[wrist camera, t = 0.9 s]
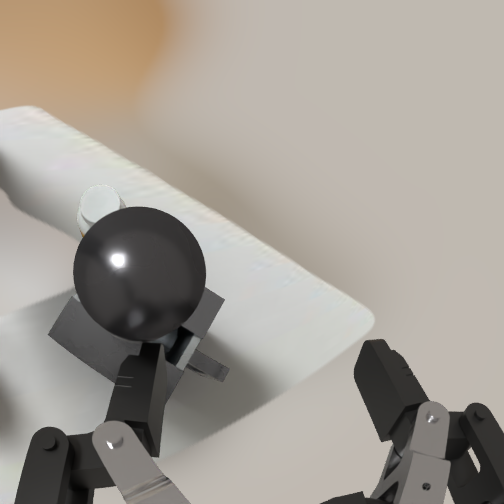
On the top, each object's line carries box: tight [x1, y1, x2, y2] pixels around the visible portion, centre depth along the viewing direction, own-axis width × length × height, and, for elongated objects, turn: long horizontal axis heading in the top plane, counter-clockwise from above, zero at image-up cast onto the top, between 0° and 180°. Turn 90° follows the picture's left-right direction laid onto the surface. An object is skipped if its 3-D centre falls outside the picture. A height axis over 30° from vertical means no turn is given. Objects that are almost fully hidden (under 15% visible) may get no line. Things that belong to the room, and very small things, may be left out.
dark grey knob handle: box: [73, 207, 206, 355], centre depth 17 cm, size 7×7×18 cm
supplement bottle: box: [77, 185, 126, 237], centre depth 31 cm, size 5×5×10 cm
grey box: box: [48, 287, 229, 404], centre depth 27 cm, size 13×10×14 cm
